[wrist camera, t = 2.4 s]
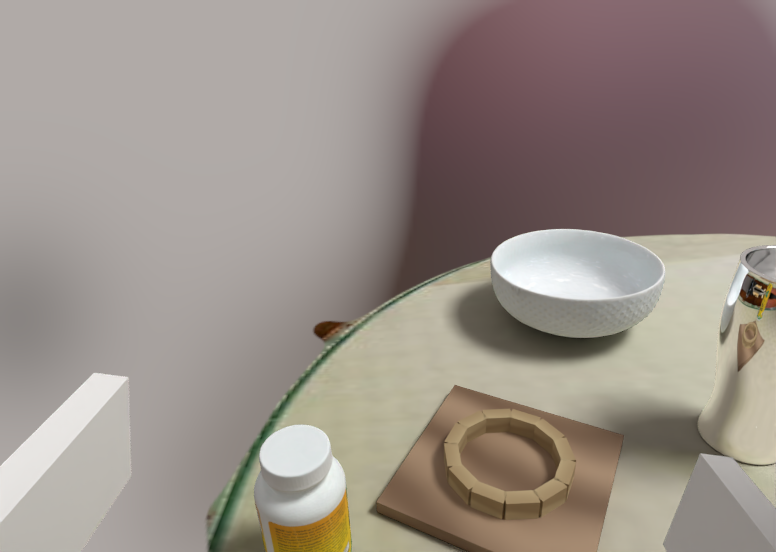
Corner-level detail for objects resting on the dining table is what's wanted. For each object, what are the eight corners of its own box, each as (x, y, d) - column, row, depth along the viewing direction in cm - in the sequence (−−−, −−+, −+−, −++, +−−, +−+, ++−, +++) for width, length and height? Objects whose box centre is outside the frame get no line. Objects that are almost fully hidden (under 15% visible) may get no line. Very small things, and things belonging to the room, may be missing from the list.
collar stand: (454, 393, 50) (455, 371, 48) (622, 445, 43) (627, 420, 42) (377, 511, 39) (375, 486, 38) (584, 602, 33) (590, 574, 32)
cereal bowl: (587, 271, 69) (595, 218, 66) (691, 342, 55) (707, 278, 52) (462, 296, 65) (464, 241, 62) (540, 381, 51) (547, 314, 48)
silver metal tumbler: (671, 421, 46) (713, 255, 39) (732, 397, 48) (783, 236, 41) (749, 483, 40) (815, 301, 33) (815, 452, 42) (890, 276, 35)
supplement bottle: (253, 559, 36) (227, 449, 32) (318, 509, 39) (303, 403, 35) (303, 618, 33) (282, 503, 28) (370, 557, 36) (361, 446, 31)
